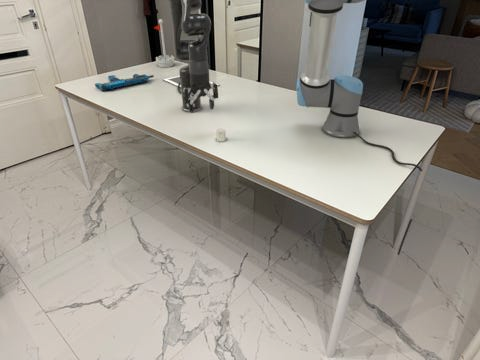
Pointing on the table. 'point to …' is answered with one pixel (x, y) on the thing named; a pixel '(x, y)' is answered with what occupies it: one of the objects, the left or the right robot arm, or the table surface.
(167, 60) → the flag stand
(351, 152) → the table surface
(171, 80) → the tablet
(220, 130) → the can
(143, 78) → the submachine gun
